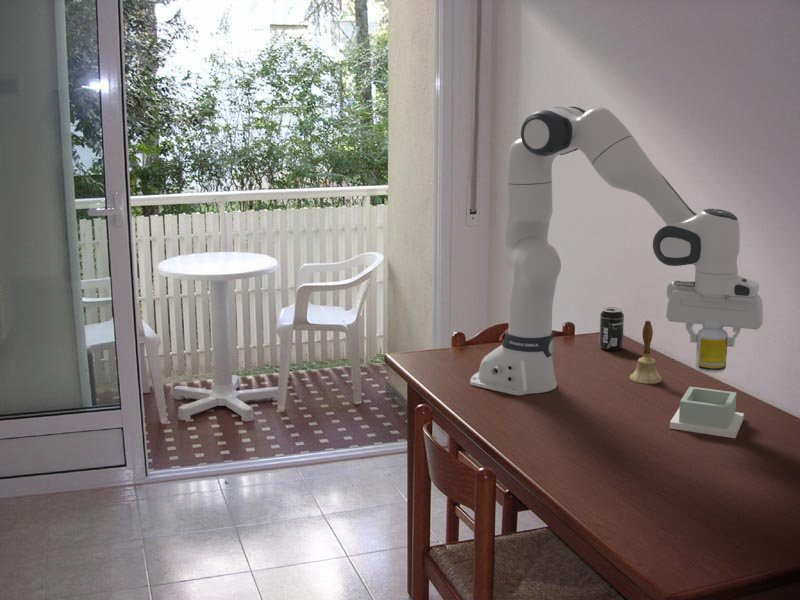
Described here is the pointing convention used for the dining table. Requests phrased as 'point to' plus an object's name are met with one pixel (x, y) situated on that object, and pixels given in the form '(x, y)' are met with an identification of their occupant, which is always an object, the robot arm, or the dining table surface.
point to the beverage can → (611, 328)
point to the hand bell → (646, 361)
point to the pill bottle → (711, 348)
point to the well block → (708, 413)
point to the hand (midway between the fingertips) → (712, 344)
